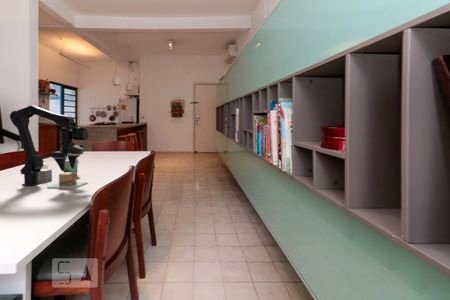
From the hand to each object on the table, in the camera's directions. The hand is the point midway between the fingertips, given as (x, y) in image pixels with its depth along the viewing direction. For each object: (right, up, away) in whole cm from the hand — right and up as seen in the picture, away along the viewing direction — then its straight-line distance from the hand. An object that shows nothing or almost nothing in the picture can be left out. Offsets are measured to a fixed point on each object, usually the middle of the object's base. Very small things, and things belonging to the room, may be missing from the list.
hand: (67, 169), depth 165 cm
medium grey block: (-21, -7, +14) cm, 26 cm away
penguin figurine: (-27, -6, +25) cm, 37 cm away
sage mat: (0, -9, +1) cm, 9 cm away
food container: (-11, -6, +28) cm, 31 cm away
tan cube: (0, -8, +1) cm, 8 cm away
